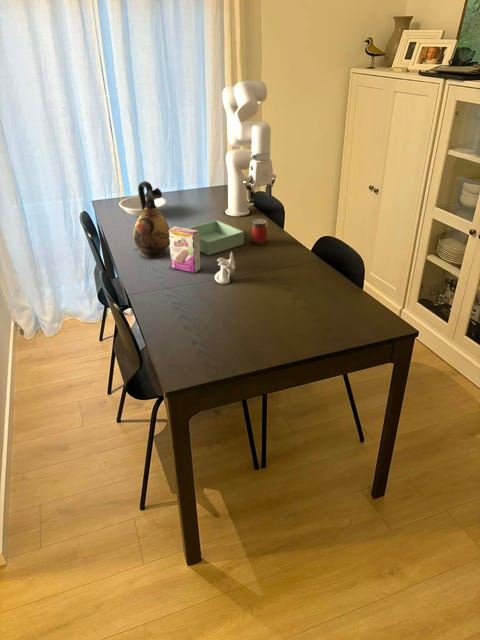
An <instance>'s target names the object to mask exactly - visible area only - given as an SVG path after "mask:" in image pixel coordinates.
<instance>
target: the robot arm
mask: <svg viewBox="0 0 480 640" xmlns="http://www.w3.org/2000/svg"><path fill="white" fill-rule="evenodd" d="M267 97H268V88H267V85H266V84H265V82H264V81H263V80H242V81H239V82H237V83H236V84H235V85H229V86H226V87H224V88H223V90H222V94H221V98H222V104H223V107H224V110H225V113H226V119H227V120H226V121H227V139H228V144H229V145H230V146H231V147H250V148H242V149H240V148H239V149H238V148H237V149H231V150H229V151H227V152H226V155H225V162H226V171H227V207H228V208H226V209H225V211H224V212H225V214H226V215H227V216H230V217H244V216H247V215H249V214H250V211H251V210H250V209H249V208H252V207H254V206H255V204H254V201H255V196H256V195H255V193H256V192H255V189H256V187H264V186H265V191H264V192H265V193H264V194H265V196H266V197H269V198H270V197H272V193H273V192H272V191H273V190H272V188H273V187H274V184H275V182H276V179H277V175H276V174H274V172H273V171H274V169H273V161H272V159H271V134H272V129H271V126H270V125H269V123H268V122H267V121H265V120H250V121H249V119H251V118H253V117H254V116H256V115H257V113H258V111H259V109H260V104H262V103H264V102H265V101H266V100H267ZM243 170H244V171H245V170H248V177H247V176H246V174H245V173H244V172H243ZM248 201H252V202H248Z"/></svg>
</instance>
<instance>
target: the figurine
mask: <svg viewBox="0 0 480 640" xmlns="http://www.w3.org/2000/svg"><path fill="white" fill-rule="evenodd" d="M216 261H217V262H218V264H217V266H220V270H219V271H217V272H216V273H215V275H214V280H215V281H216V282H217V283H218V284H222V285H226V284H229V283H230V282H231V278H230V277H231V275H234V274H235V271H236V261H235V258H234V253H233V252H232V251H231V252H230V253H229V259H225V258H224V257H218V259H217V260H216Z"/></svg>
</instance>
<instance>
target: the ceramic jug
mask: <svg viewBox="0 0 480 640" xmlns="http://www.w3.org/2000/svg"><path fill="white" fill-rule="evenodd" d="M137 187H138V189H137V190H138V196H139V197H140V202H141V206H142V211H141V214H140V216H139V217H137V220H136V222H135V225H134V228H133V236H132V237H133V242H134V244H135V246H136V248H137V250H139V251H140V253H141V255H142V257H144V258H146V259H158V258H161V257H163V256H164V254H165V252H166V250H167V249H168V247H170V242H169V229H170V227H169V224H168V222H167V220H166V218H165V217H164V215H163V214H162V212H161V211H159V210H158V209H157V207H156V206H155V202H154V200H156V199H159V198H161V197H162V198H163V192H162V191H161V189H160V188H159V187H155V188H154V189H153V186H152V184H151V182H148V181H146V180H143V181H141V182H140V183H139V185H138V186H137ZM145 190H146V192H145ZM145 197H146V199H145Z"/></svg>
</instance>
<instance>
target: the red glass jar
mask: <svg viewBox="0 0 480 640" xmlns="http://www.w3.org/2000/svg"><path fill="white" fill-rule="evenodd" d="M267 239H268V220H267V219H264V218H254V219H252V221H251V244H252V245H254V246H265V245H266V244H267Z"/></svg>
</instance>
